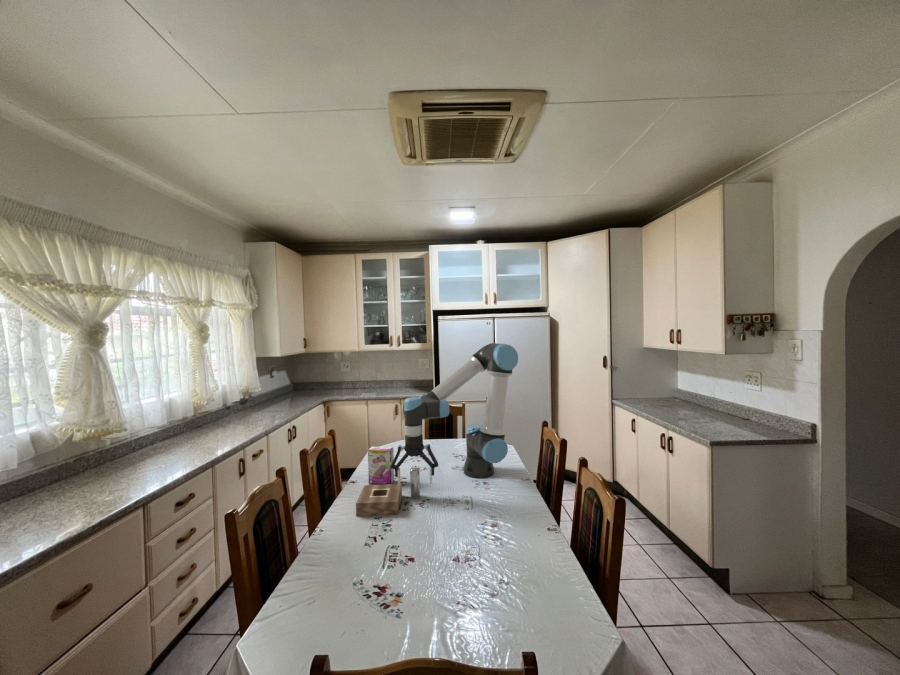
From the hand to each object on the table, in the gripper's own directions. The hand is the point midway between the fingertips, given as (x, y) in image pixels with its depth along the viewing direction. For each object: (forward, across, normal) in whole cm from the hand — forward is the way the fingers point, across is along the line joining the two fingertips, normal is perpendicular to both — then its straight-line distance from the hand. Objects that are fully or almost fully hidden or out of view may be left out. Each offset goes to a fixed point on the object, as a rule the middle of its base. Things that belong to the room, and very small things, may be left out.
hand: (415, 483), depth 152 cm
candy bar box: (+6, +17, -16) cm, 24 cm away
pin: (+6, 0, 0) cm, 6 cm away
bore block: (+6, +14, +6) cm, 16 cm away
